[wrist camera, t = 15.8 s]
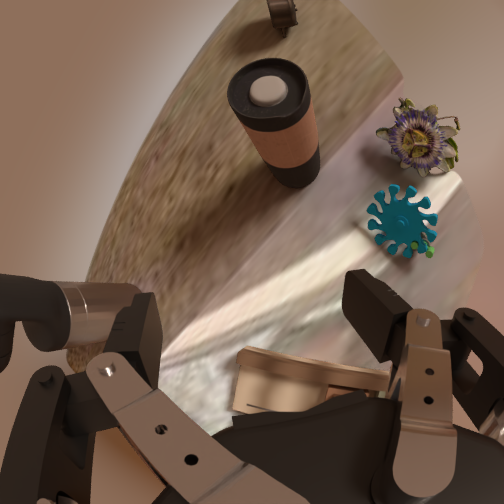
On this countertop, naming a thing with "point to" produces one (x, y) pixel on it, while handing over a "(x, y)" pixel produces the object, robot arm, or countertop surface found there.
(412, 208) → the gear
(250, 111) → the travel mug
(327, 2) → the countertop surface
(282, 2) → the alarm clock
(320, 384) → the board
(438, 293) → the countertop surface
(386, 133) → the passion flower
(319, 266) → the countertop surface
